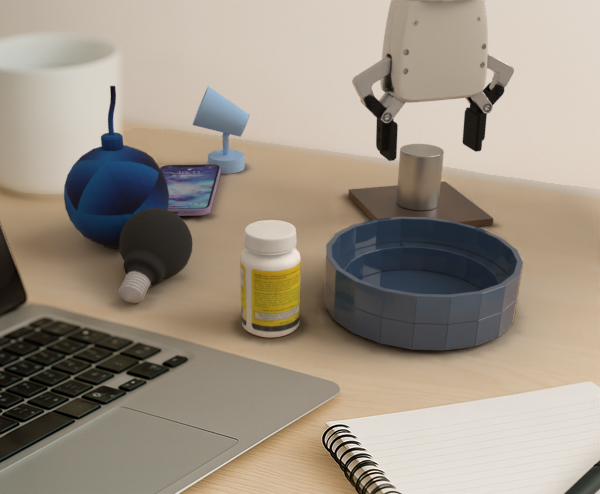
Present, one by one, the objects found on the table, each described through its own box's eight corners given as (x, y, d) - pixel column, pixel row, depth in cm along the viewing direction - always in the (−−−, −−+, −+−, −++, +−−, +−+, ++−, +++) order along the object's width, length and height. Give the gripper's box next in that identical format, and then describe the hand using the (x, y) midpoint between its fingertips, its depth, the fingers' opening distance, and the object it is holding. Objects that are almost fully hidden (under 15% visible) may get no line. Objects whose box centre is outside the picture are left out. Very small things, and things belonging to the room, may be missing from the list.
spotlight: (193, 174, 100) (250, 174, 100) (188, 92, 96) (248, 91, 96) (196, 161, 105) (251, 161, 105) (192, 81, 100) (249, 81, 100)
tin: (428, 194, 93) (432, 142, 90) (445, 208, 89) (451, 154, 86) (389, 197, 92) (393, 145, 89) (405, 212, 88) (410, 157, 85)
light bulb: (89, 265, 67) (134, 185, 73) (93, 313, 72) (135, 234, 78) (165, 286, 67) (203, 204, 73) (164, 333, 71) (200, 252, 78)
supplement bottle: (311, 325, 67) (314, 230, 63) (268, 345, 64) (268, 246, 61) (272, 305, 70) (272, 212, 66) (229, 323, 67) (226, 227, 64)
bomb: (182, 222, 86) (174, 77, 80) (159, 266, 77) (148, 105, 70) (90, 219, 87) (74, 74, 80) (56, 262, 77) (35, 101, 70)
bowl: (461, 258, 80) (467, 210, 77) (550, 340, 66) (561, 283, 64) (302, 276, 75) (303, 225, 73) (361, 367, 62) (365, 308, 60)
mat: (444, 187, 97) (445, 181, 97) (492, 225, 87) (493, 218, 87) (348, 195, 94) (348, 189, 94) (386, 236, 84) (387, 228, 84)
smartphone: (139, 209, 87) (160, 164, 100) (140, 218, 87) (161, 171, 101) (209, 209, 87) (221, 163, 100) (210, 217, 87) (222, 171, 101)
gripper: (502, -28, 85) (487, 135, 93) (342, -20, 81) (341, 150, 89) (540, -20, 79) (521, 154, 87) (369, -11, 75) (365, 171, 82)
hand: (430, 152), depth 88 cm, fingers open, 9 cm apart
